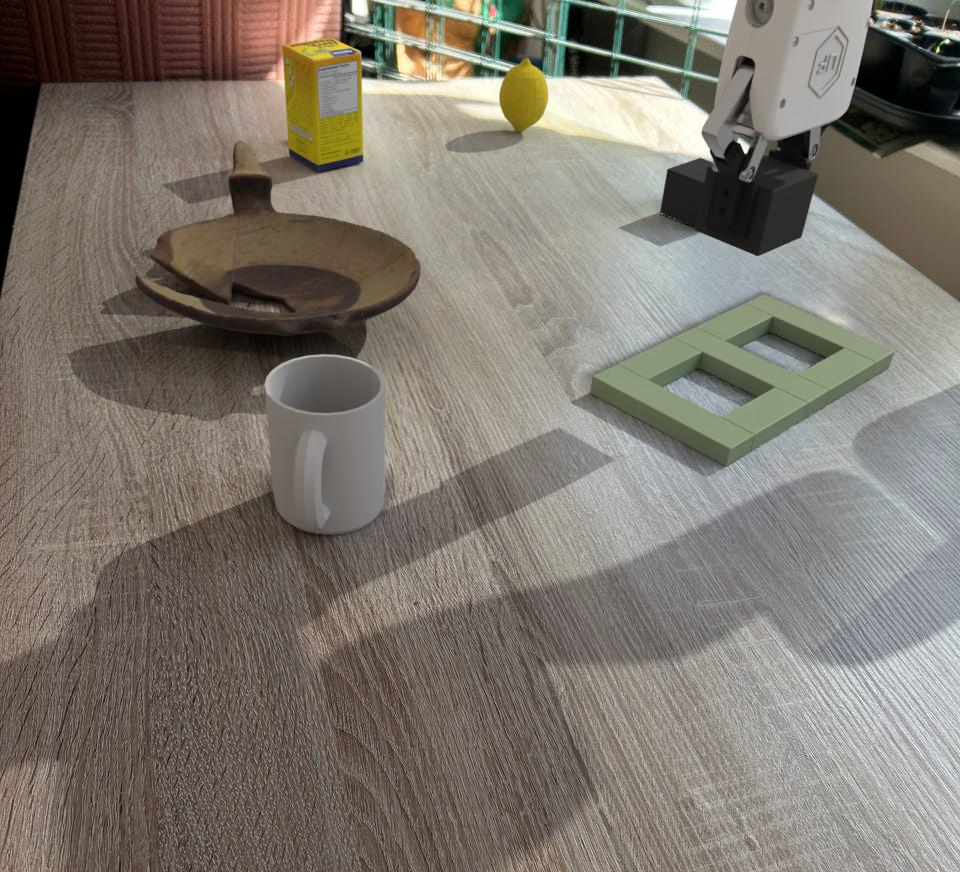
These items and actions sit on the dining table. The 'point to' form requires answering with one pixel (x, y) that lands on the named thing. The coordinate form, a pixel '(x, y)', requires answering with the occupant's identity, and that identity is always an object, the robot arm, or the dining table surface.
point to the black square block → (684, 190)
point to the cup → (327, 442)
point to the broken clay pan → (280, 264)
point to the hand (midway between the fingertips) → (752, 220)
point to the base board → (741, 377)
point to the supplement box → (323, 103)
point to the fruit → (523, 95)
